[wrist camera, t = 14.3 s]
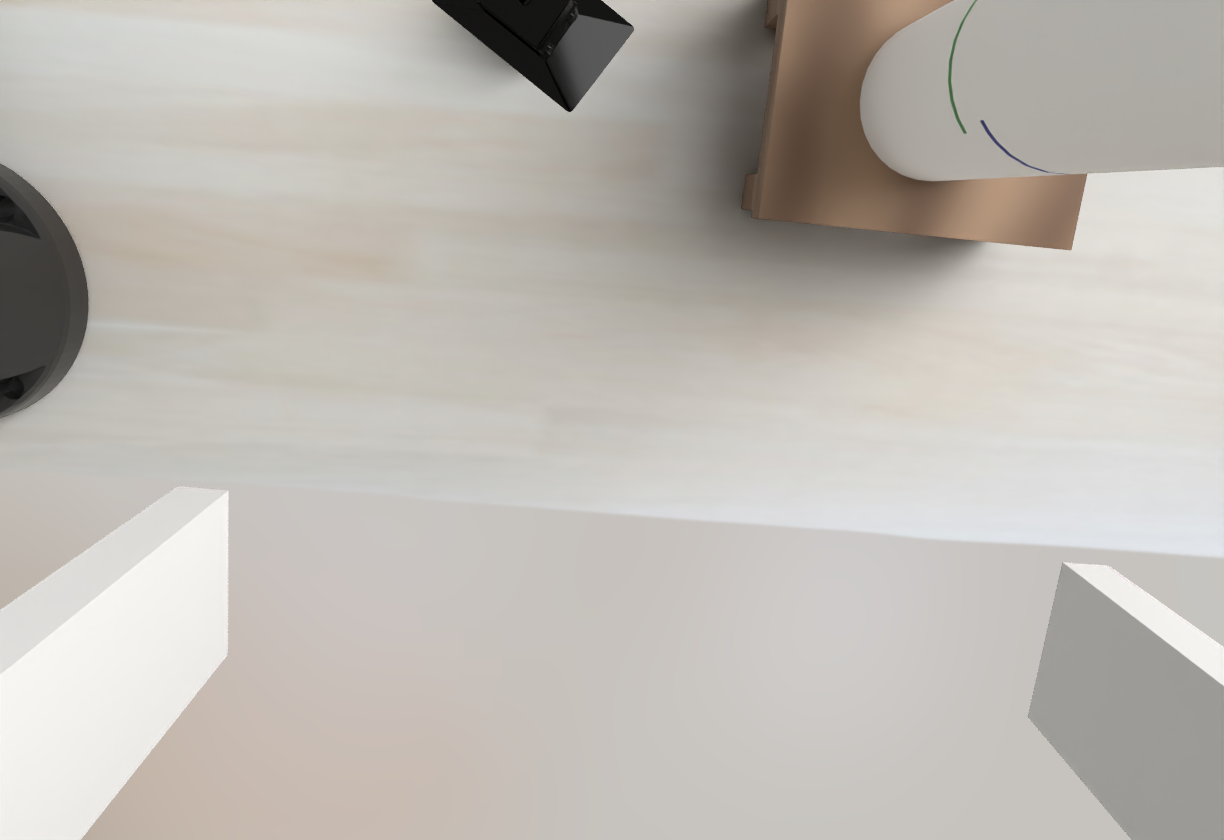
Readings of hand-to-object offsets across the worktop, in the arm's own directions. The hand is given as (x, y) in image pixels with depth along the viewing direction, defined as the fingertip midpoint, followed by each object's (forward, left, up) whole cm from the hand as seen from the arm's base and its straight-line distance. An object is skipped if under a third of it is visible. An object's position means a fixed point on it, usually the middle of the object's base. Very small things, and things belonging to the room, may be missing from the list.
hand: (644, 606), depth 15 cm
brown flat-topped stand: (+14, +12, -39) cm, 43 cm away
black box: (-5, +15, -40) cm, 43 cm away
